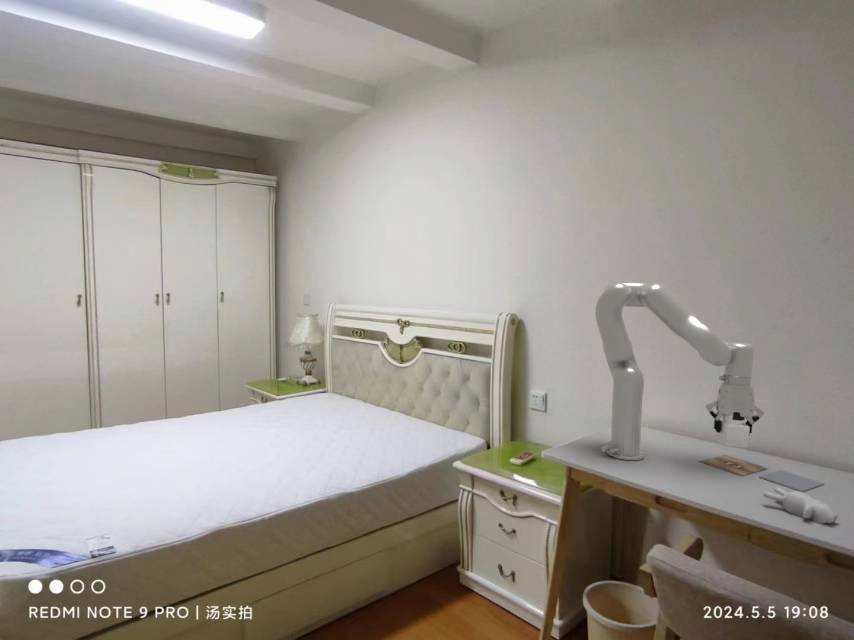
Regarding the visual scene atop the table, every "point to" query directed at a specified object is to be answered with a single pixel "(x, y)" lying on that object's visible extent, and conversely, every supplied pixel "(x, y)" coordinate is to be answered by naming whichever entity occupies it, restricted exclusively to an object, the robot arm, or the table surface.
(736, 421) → the medicine bottle
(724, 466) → the tile
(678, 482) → the table surface
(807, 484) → the grey mat
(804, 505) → the bunny figurine
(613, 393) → the robot arm
